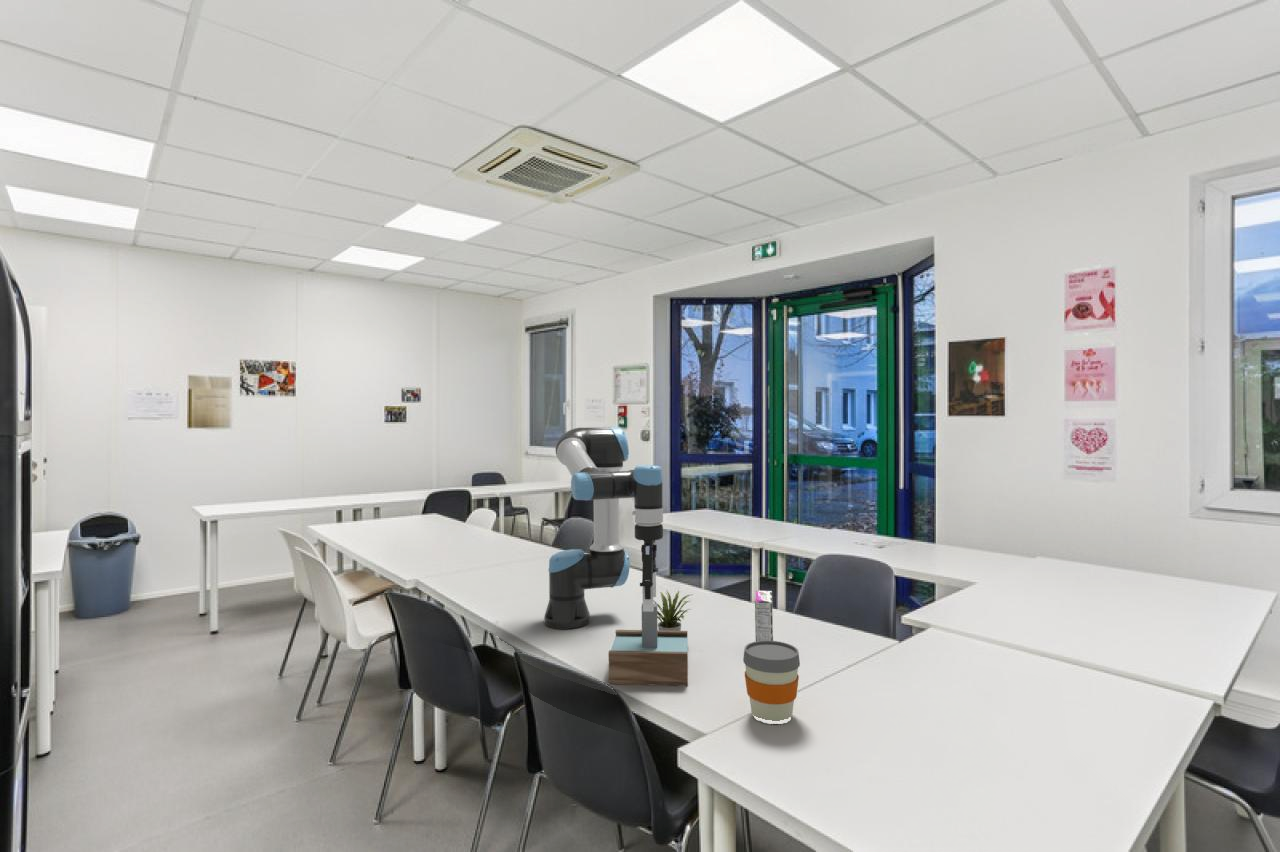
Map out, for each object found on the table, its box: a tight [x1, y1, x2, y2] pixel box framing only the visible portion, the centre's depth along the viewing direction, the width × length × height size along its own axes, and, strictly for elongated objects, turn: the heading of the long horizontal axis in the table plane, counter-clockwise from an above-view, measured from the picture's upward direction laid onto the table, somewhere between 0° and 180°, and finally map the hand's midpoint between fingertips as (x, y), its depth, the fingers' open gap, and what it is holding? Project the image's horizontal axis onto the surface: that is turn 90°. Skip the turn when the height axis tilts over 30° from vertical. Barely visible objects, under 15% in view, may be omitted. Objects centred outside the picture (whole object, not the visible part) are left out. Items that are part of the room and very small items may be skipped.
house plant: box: [653, 589, 694, 631], centre depth 188 cm, size 14×14×16 cm
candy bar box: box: [754, 590, 774, 642], centre depth 182 cm, size 11×5×16 cm, turn 168°
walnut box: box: [608, 629, 689, 687], centre depth 169 cm, size 17×20×8 cm
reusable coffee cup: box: [743, 640, 801, 721], centre depth 144 cm, size 13×13×15 cm
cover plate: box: [610, 602, 689, 657], centre depth 169 cm, size 15×20×12 cm
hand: (649, 603), depth 168 cm, fingers open, 13 cm apart
